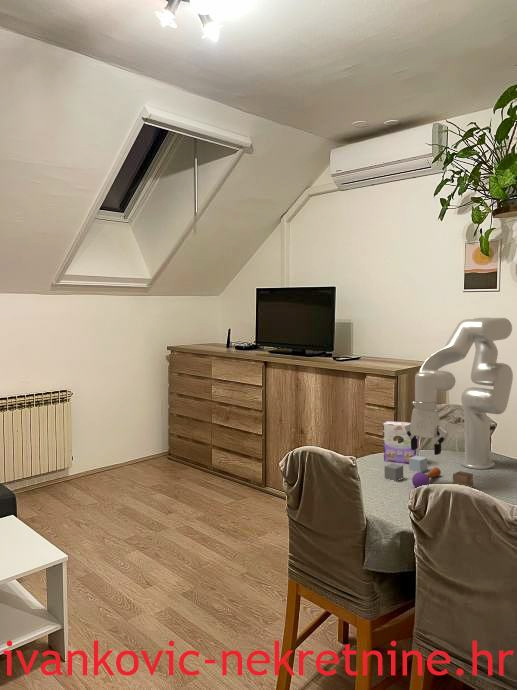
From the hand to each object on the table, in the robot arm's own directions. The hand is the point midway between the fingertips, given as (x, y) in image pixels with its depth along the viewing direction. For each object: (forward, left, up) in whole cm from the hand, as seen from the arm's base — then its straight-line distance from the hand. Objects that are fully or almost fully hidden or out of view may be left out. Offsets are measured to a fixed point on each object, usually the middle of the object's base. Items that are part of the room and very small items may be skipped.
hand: (425, 451), depth 205 cm
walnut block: (-5, +12, -12) cm, 18 cm away
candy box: (-18, -23, -12) cm, 31 cm away
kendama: (-1, 0, -12) cm, 12 cm away
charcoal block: (+3, -12, -12) cm, 17 cm away
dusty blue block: (-12, -11, -12) cm, 20 cm away
